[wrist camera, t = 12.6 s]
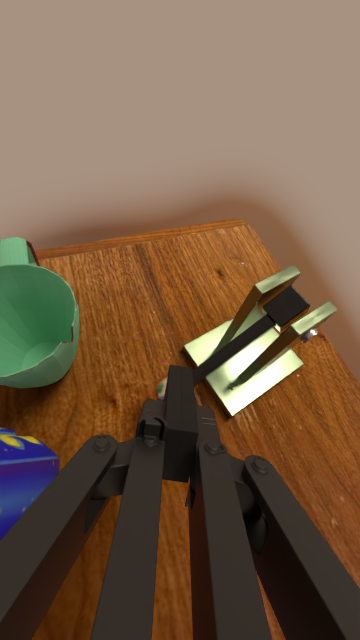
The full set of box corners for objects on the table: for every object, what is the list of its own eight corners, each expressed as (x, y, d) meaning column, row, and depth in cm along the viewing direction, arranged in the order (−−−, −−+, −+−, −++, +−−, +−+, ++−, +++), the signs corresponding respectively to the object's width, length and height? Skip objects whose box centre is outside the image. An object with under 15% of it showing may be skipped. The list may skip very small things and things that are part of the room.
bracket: (228, 419, 28) (287, 383, 17) (181, 349, 31) (204, 281, 20) (299, 367, 32) (383, 311, 21) (251, 310, 35) (302, 236, 24)
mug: (102, 395, 27) (85, 359, 19) (-6, 423, 25) (-84, 397, 16) (83, 282, 34) (64, 217, 25) (-4, 296, 31) (-59, 228, 23)
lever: (175, 420, 25) (160, 427, 22) (156, 387, 26) (138, 389, 23) (312, 319, 23) (318, 310, 19) (283, 289, 24) (284, 275, 21)
